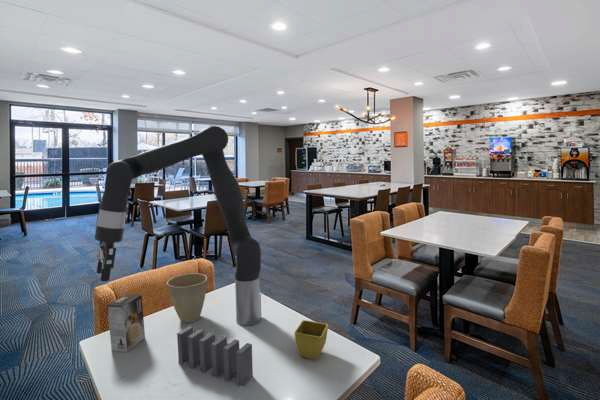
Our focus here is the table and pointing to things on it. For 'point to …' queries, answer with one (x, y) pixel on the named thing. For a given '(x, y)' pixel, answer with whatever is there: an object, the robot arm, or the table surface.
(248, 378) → the domino
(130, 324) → the coffee box
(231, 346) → the domino
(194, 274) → the plant pot
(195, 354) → the domino
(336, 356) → the table surface
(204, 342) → the domino
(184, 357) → the domino
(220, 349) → the domino
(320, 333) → the flower pot
